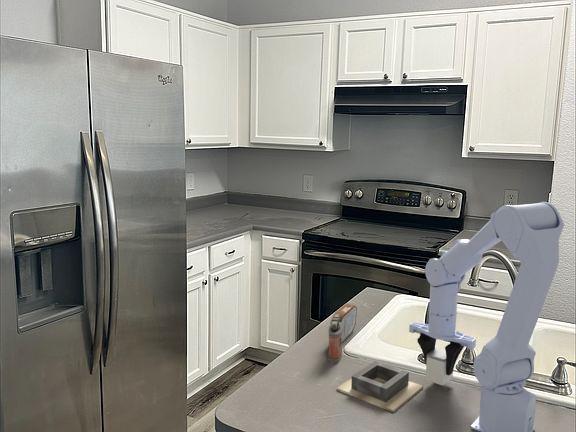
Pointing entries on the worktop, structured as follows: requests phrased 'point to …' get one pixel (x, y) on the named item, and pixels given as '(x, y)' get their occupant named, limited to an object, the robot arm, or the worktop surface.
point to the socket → (381, 386)
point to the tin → (347, 319)
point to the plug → (437, 367)
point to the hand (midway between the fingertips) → (439, 370)
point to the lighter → (335, 340)
